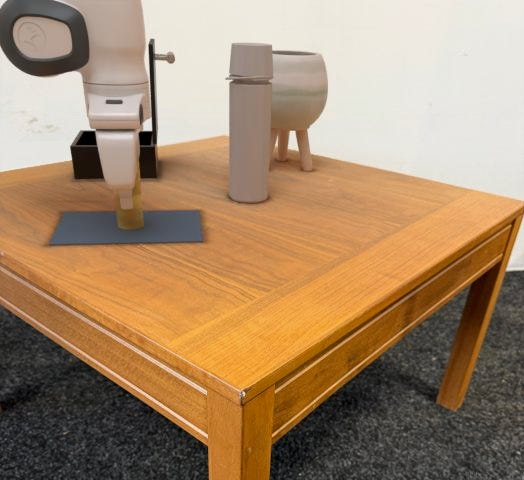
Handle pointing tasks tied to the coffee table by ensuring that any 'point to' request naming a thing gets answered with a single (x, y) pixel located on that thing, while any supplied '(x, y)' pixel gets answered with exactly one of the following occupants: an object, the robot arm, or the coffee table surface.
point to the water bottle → (249, 121)
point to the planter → (296, 100)
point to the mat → (107, 231)
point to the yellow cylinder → (134, 216)
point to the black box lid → (153, 91)
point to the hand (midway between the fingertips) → (128, 202)
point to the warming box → (89, 159)
